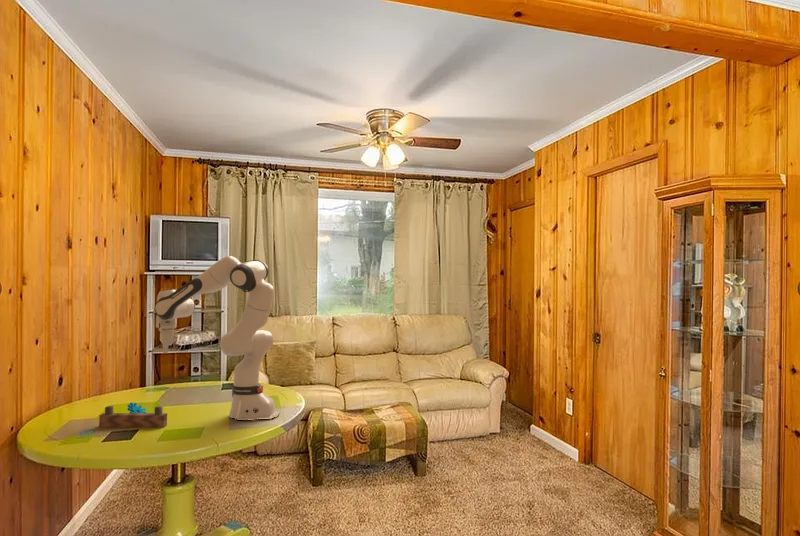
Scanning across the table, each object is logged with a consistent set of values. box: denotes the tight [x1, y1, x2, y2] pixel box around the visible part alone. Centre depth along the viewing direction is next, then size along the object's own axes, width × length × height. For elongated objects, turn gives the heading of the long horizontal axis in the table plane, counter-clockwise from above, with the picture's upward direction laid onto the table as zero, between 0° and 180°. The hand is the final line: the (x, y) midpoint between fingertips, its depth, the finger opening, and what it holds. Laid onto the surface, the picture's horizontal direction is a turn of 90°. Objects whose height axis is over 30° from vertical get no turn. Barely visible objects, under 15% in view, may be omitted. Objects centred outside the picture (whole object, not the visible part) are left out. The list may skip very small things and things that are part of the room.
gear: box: [126, 402, 148, 413], centre depth 203 cm, size 11×6×10 cm
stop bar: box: [98, 405, 168, 428], centre depth 194 cm, size 26×3×8 cm, turn 94°
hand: (165, 352), depth 219 cm, fingers closed
